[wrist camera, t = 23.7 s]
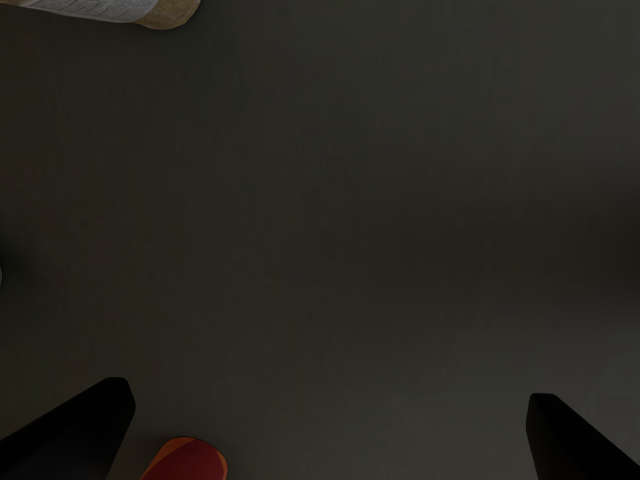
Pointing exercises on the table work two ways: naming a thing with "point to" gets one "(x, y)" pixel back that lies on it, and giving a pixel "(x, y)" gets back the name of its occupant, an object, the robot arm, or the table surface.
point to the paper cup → (187, 462)
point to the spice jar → (120, 10)
